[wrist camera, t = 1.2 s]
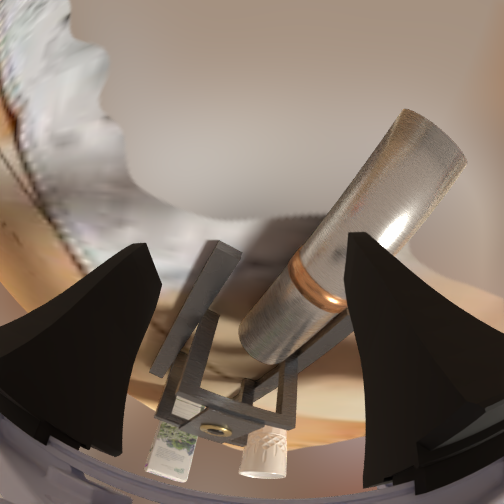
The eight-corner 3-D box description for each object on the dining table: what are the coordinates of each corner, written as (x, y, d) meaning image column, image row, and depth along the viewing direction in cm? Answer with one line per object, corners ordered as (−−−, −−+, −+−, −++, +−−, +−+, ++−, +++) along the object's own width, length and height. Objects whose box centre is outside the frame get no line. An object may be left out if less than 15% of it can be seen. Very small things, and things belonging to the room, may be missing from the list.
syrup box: (166, 397, 39) (142, 471, 27) (172, 386, 36) (146, 469, 24) (197, 409, 40) (179, 482, 28) (207, 399, 37) (187, 482, 25)
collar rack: (361, 314, 23) (378, 408, 15) (242, 403, 36) (233, 460, 28) (219, 240, 21) (177, 340, 13) (151, 366, 33) (128, 424, 25)
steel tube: (389, 105, 14) (425, 111, 9) (441, 153, 14) (482, 176, 10) (242, 305, 24) (232, 351, 20) (290, 328, 25) (288, 373, 21)
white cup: (292, 421, 39) (288, 473, 30) (287, 434, 43) (283, 479, 35) (245, 417, 39) (237, 469, 31) (247, 431, 44) (239, 476, 35)
